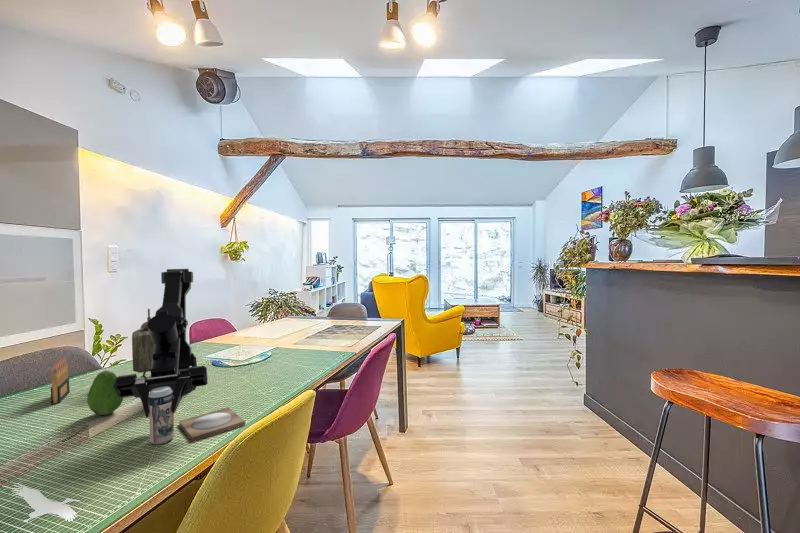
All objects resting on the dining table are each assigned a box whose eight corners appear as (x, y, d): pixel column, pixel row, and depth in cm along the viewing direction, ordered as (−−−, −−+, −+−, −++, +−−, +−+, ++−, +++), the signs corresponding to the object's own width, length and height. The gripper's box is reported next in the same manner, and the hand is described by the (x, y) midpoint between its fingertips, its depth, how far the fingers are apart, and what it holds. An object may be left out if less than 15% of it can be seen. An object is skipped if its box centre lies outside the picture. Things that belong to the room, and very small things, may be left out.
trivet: (179, 424, 93) (179, 420, 93) (228, 410, 102) (228, 406, 102) (192, 441, 85) (192, 436, 85) (245, 424, 93) (244, 420, 93)
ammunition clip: (59, 403, 109) (57, 363, 109) (51, 404, 108) (49, 364, 108) (69, 392, 118) (68, 355, 118) (62, 393, 117) (60, 356, 117)
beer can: (156, 447, 82) (154, 394, 82) (146, 442, 85) (144, 390, 84) (178, 438, 86) (176, 387, 86) (168, 433, 89) (166, 384, 88)
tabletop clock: (165, 381, 127) (163, 309, 126) (133, 387, 122) (130, 312, 121) (164, 371, 139) (162, 305, 138) (134, 376, 134) (132, 307, 133)
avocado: (100, 421, 96) (98, 376, 96) (81, 417, 99) (79, 373, 98) (131, 409, 103) (130, 367, 103) (113, 406, 106) (111, 365, 106)
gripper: (208, 366, 103) (208, 421, 93) (127, 376, 95) (117, 437, 85) (206, 344, 96) (205, 401, 86) (118, 353, 88) (106, 417, 78)
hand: (160, 414), depth 84 cm, fingers closed on beer can, 5 cm apart
